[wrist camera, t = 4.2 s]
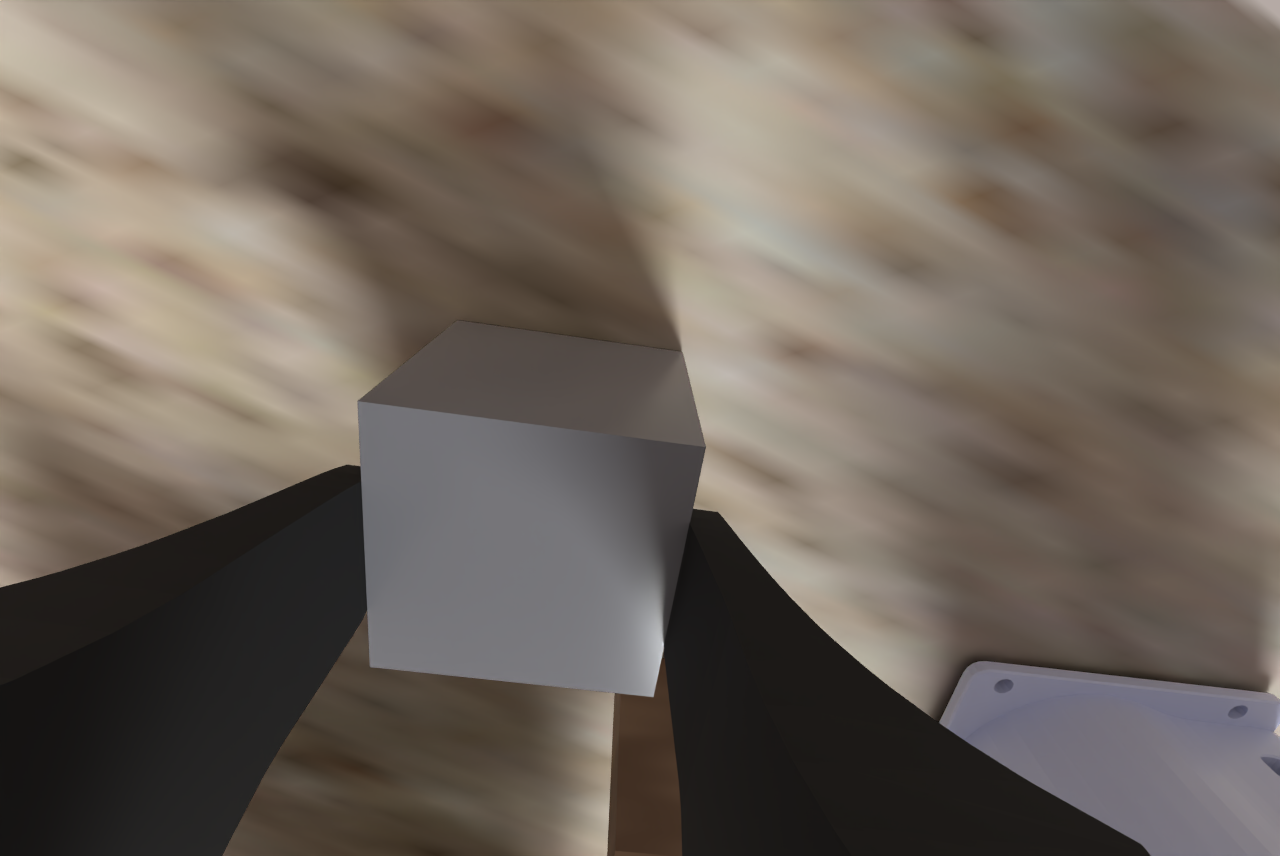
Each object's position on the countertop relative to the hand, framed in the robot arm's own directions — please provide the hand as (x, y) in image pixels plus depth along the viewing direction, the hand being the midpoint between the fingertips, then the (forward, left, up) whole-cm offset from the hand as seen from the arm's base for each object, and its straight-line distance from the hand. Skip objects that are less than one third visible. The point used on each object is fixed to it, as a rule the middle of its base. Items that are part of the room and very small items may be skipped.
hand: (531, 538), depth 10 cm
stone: (0, 0, -4) cm, 4 cm away
